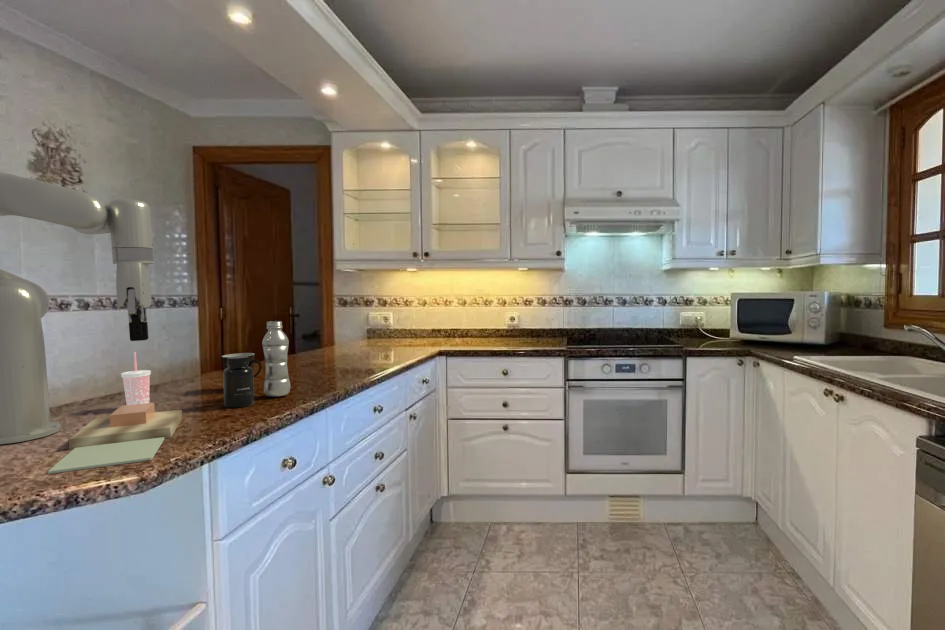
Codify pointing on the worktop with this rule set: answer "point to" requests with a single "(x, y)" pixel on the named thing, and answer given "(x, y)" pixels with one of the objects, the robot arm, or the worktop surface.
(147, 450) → the sage mat
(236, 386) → the supplement bottle
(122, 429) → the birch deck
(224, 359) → the coffee mug
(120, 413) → the terracotta tile
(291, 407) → the worktop surface
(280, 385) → the plastic bottle
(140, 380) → the beverage cup
